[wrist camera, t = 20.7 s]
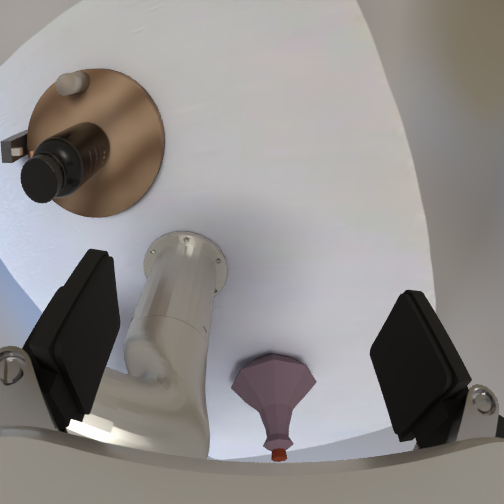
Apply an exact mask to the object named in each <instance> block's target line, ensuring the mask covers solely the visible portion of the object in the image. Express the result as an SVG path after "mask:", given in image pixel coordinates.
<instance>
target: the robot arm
mask: <svg viewBox="0 0 504 504" xmlns="http://www.w3.org/2000/svg"><path fill="white" fill-rule="evenodd" d="M187 237H188V238H187ZM218 258H219V259H218ZM144 271H145V275H146V277H147V281H146V284H145V286H144V289H143V291H142V294H141V296H140V299H139V302H138V304H137V307H136V310H135V312H134V315H133V318H132V320H131V323H130V326H129V329H128V331H127V334H126V337H125V341H124V349H123V352H124V360H125V364H126V367H127V370H128V373H129V374H124V373H121V372H119V371H116V370H113V369H111V368H108V367H106V365H107V362H108V359H109V356H110V353H111V351H112V348H113V345H114V343H115V340H116V337H117V335H118V332H119V328H120V315H119V307H118V299H117V290H116V281H115V271H114V260H113V257H110V256H109V255H108V252H107V251H102V250H96V249H89V250H88V251H87V252H86V254H85V255H84V257H83V258H82V260H81V261H80V262H79V264H78V265H77V267H76V268H75V270H74V271H73V273H72V274H71V276H70V277H69V279H68V280H67V282H66V283H65V285H64V286H62V287H60V288H59V289H58V290H57V291H56V293H55V295H54V296H53V298H52V299H51V301H50V302H49V304H48V306H47V307H46V309H45V310H44V312H43V314H42V315H41V317H40V319H39V320H38V322H37V324H36V325H35V327H34V329H33V330H32V332H31V334H30V336H29V337H28V339H27V341H26V342H25V344H24V346H23V348H22V349H21V348H19V347H15V346H7V347H2V348H0V504H504V418H503V417H502V416H500V415H499V403H498V400H497V398H496V396H495V395H494V394H493V392H492V391H491V390H490V389H488V388H487V387H485V386H483V385H478V384H476V385H473V386H472V387H471V388H470V389H468V387H467V385H468V384H469V383H470V382H471V380H472V379H471V377H470V375H469V373H468V371H467V369H466V367H465V366H464V363H463V361H462V359H461V358H460V356H459V354H458V352H457V350H456V348H455V347H454V345H453V343H452V341H451V339H450V337H449V336H448V334H447V332H446V330H445V329H444V327H443V325H442V323H441V322H440V320H439V319H438V317H437V315H436V313H435V311H434V310H433V308H432V306H431V305H430V303H429V302H428V300H427V298H426V297H425V295H424V294H423V292H421V291H414V290H406V291H405V292H404V293H403V294H401V295H400V296H399V297H398V299H397V301H396V303H395V305H394V307H393V309H392V311H391V312H390V314H389V316H388V318H387V320H386V322H385V323H384V325H383V327H382V329H381V331H380V332H379V334H378V336H377V338H376V339H375V341H374V343H373V344H372V346H371V349H370V357H371V360H372V363H373V366H374V369H375V372H376V375H377V378H378V381H379V384H380V387H381V391H382V394H383V397H384V400H385V403H386V407H387V410H388V413H389V416H390V420H391V423H392V427H393V430H394V432H395V433H396V434H397V435H398V437H399V441H400V442H403V441H410V440H413V439H414V438H416V441H417V443H416V445H415V447H414V449H413V451H408V452H402V453H396V454H390V455H384V456H376V457H368V458H359V459H349V460H338V461H326V462H302V463H258V462H257V463H255V462H236V461H221V460H210V459H207V457H208V453H209V445H210V431H209V421H208V414H207V406H206V394H205V376H206V363H207V353H208V344H209V335H210V326H211V317H212V308H213V300H214V296H216V295H217V294H218V293H219V292H220V291H221V290H222V288H223V286H224V285H225V282H226V278H227V263H226V260H225V257H224V255H223V254H222V252H221V250H220V249H219V248H218V247H217V246H216V245H215V244H214V243H213V242H212V241H210V240H209V239H207V238H205V237H203V236H201V235H198V234H196V233H191V232H172V233H168V234H165V235H163V236H161V237H160V238H158V239H156V240H155V241H154V242H153V243H152V244H151V246H150V247H149V249H148V251H147V253H146V256H145V260H144Z"/></svg>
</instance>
